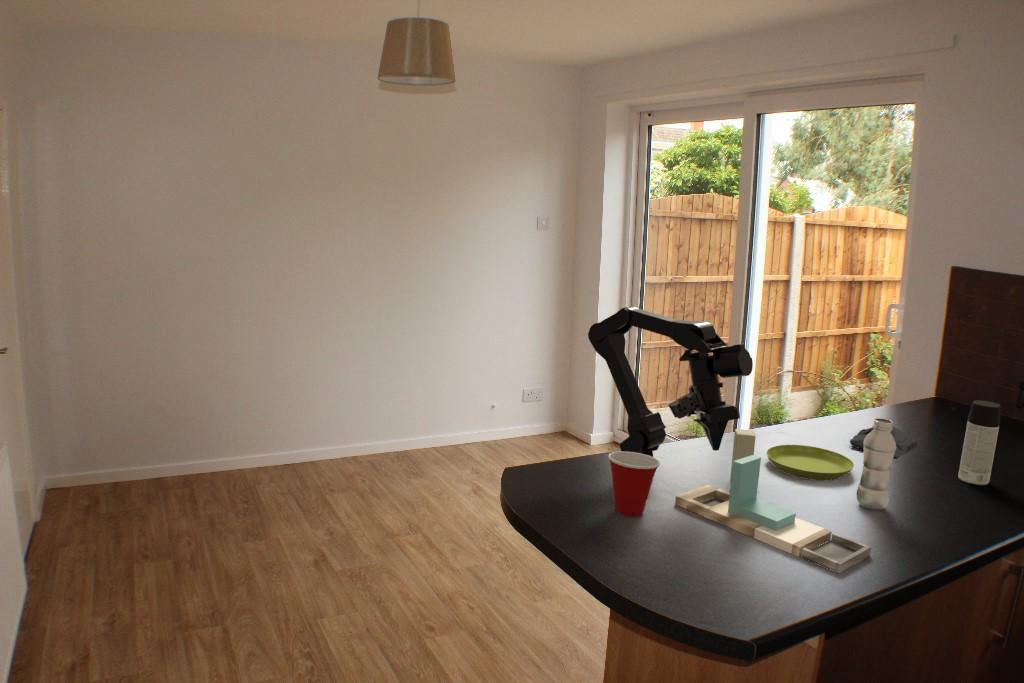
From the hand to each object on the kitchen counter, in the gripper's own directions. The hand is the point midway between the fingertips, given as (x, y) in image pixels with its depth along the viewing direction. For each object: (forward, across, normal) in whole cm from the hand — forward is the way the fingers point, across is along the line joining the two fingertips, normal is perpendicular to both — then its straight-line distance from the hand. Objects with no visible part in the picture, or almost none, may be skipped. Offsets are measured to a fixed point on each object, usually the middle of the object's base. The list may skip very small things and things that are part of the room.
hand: (715, 450), depth 161 cm
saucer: (+13, -24, +31) cm, 42 cm away
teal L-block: (+13, +10, +4) cm, 17 cm away
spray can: (+22, -18, +70) cm, 75 cm away
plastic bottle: (+18, -1, +33) cm, 38 cm away
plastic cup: (+9, +3, -22) cm, 24 cm away
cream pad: (+17, +15, +7) cm, 23 cm away
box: (+11, -13, +9) cm, 19 cm away
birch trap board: (+15, +11, +4) cm, 19 cm away
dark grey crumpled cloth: (+15, -44, +62) cm, 78 cm away
